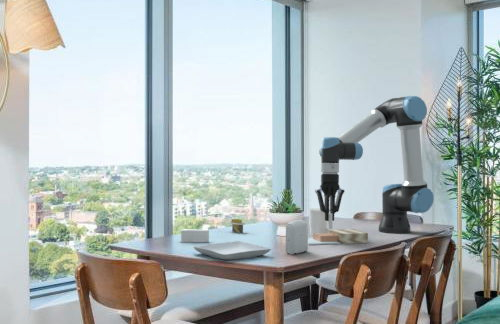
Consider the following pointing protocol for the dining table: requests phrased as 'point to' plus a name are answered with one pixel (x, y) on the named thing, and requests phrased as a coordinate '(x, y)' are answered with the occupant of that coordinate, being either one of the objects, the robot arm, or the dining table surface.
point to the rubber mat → (315, 242)
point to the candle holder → (317, 221)
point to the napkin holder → (194, 235)
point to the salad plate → (232, 250)
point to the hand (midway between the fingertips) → (329, 228)
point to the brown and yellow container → (237, 225)
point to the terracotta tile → (325, 237)
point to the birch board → (350, 236)
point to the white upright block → (296, 236)
